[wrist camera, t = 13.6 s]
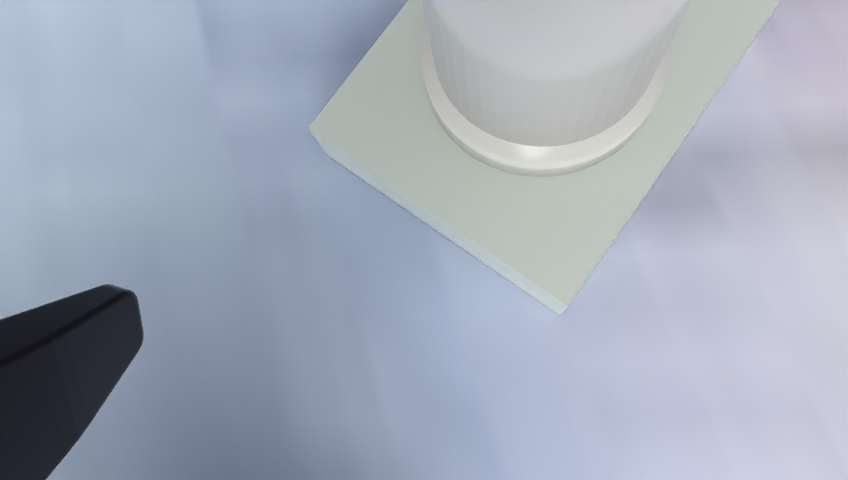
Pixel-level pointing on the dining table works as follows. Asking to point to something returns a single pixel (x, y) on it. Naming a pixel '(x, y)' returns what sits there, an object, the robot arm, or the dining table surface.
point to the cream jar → (545, 76)
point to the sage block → (510, 193)
